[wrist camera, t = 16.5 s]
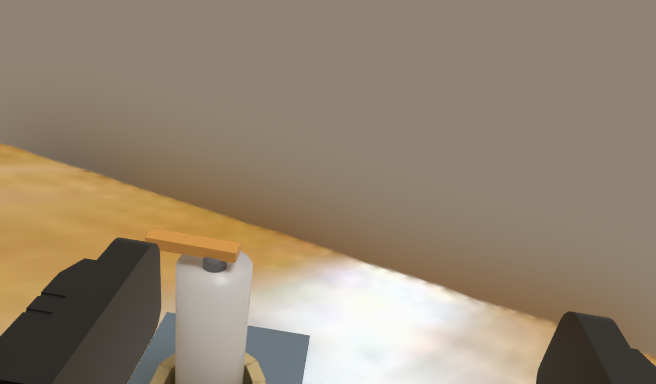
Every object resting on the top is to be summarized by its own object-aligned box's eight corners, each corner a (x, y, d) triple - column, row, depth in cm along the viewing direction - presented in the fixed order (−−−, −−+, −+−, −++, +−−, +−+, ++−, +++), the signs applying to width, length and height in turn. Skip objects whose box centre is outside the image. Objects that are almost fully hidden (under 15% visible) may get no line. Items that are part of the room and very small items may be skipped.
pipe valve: (246, 392, 42) (261, 231, 36) (230, 445, 38) (243, 272, 31) (164, 377, 43) (163, 214, 36) (138, 427, 38) (131, 253, 31)
